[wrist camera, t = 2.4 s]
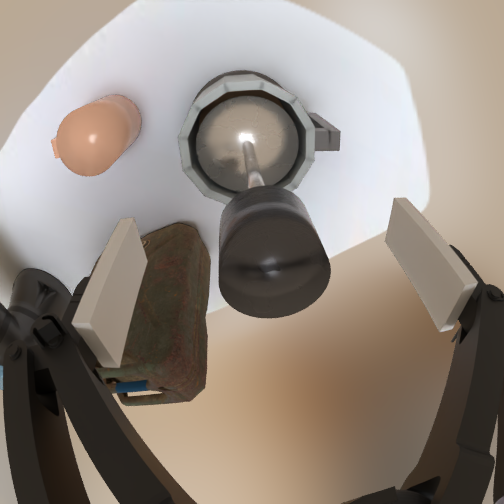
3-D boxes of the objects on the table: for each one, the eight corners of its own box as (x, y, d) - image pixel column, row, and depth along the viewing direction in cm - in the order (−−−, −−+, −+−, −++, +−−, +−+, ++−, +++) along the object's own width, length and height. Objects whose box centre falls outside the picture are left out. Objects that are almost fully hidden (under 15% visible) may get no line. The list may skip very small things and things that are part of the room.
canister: (194, 214, 43) (173, 364, 24) (215, 256, 48) (213, 402, 29) (96, 251, 46) (43, 379, 26) (121, 285, 51) (87, 411, 31)
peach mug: (85, 157, 36) (56, 184, 29) (73, 106, 31) (39, 122, 24) (145, 145, 36) (125, 169, 29) (136, 88, 32) (111, 99, 24)
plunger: (203, 193, 29) (184, 354, 14) (191, 101, 23) (127, 184, 9) (296, 185, 29) (362, 336, 14) (296, 93, 23) (406, 166, 9)
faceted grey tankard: (197, 169, 39) (186, 217, 29) (185, 76, 31) (164, 85, 21) (308, 160, 40) (338, 205, 29) (308, 69, 32) (345, 76, 22)
